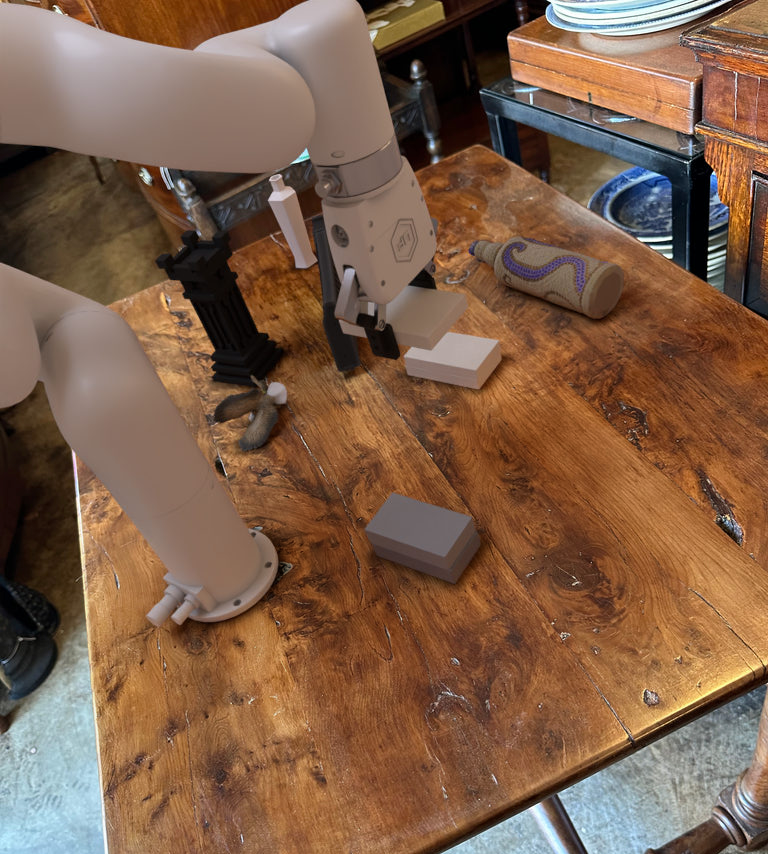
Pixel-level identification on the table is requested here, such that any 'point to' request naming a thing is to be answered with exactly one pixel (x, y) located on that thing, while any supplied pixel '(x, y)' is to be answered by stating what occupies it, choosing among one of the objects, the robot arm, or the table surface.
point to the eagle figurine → (253, 411)
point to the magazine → (333, 302)
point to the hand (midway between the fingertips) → (407, 331)
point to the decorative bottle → (554, 274)
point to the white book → (418, 316)
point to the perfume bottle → (291, 221)
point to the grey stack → (423, 537)
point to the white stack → (456, 360)
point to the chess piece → (221, 309)
